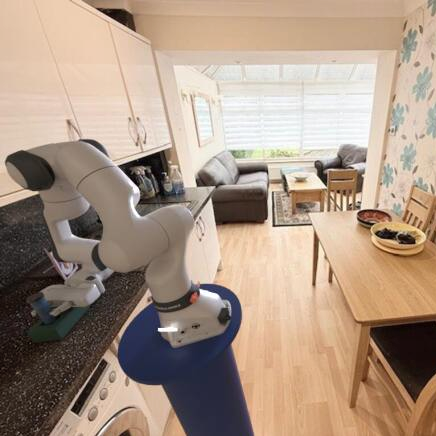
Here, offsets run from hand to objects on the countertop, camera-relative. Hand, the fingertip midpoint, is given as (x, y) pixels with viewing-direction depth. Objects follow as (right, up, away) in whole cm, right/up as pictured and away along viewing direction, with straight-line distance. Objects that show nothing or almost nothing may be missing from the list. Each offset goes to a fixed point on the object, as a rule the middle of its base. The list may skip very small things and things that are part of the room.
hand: (43, 314), depth 75 cm
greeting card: (-23, +4, +32) cm, 39 cm away
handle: (0, -7, +4) cm, 8 cm away
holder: (0, -6, +7) cm, 9 cm away
